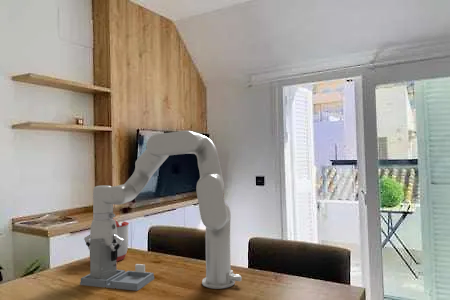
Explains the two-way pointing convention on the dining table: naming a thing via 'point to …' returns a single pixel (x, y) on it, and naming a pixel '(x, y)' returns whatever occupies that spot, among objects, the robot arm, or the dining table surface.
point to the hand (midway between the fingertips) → (103, 259)
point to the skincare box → (101, 260)
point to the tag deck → (122, 279)
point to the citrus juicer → (123, 233)
